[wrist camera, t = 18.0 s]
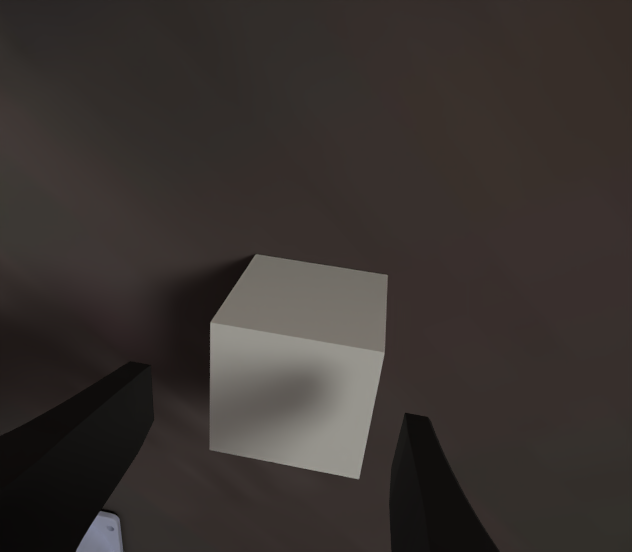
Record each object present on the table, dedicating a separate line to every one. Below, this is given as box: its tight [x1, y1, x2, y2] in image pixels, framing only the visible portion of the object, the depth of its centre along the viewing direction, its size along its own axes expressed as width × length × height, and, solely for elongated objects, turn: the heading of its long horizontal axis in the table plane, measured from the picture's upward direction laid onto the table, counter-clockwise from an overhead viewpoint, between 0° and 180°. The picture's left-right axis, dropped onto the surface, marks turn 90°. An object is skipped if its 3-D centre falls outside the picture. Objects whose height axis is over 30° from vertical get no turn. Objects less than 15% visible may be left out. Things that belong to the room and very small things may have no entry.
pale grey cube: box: [210, 254, 388, 479], centre depth 20 cm, size 6×6×6 cm
